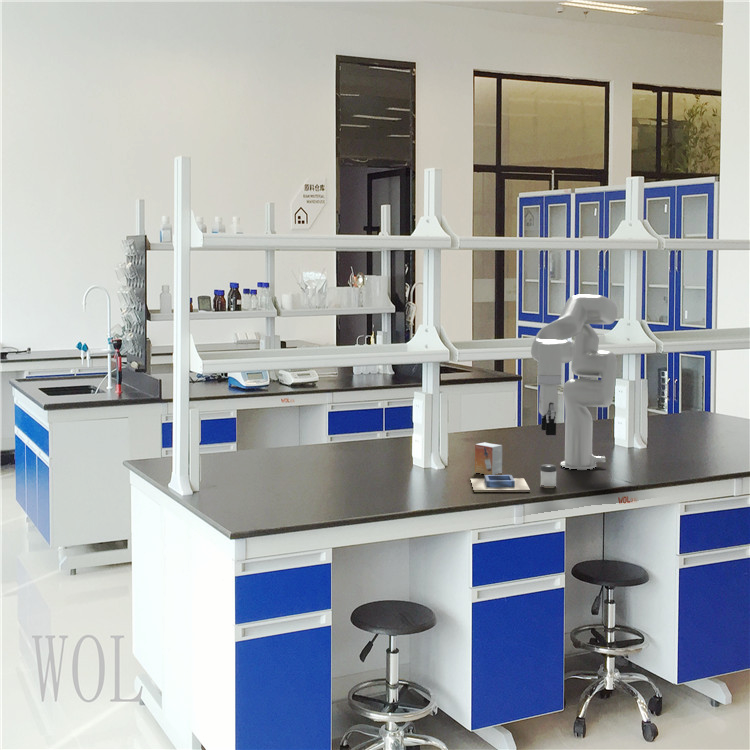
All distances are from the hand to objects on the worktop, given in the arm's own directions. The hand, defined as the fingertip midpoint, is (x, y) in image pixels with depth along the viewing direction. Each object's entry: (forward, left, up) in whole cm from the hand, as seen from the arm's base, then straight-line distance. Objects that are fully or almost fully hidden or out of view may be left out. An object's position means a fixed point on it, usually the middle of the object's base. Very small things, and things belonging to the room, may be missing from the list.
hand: (548, 432), depth 321 cm
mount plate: (+16, 0, -18) cm, 24 cm away
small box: (+18, -19, -18) cm, 32 cm away
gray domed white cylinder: (0, 0, -18) cm, 18 cm away
